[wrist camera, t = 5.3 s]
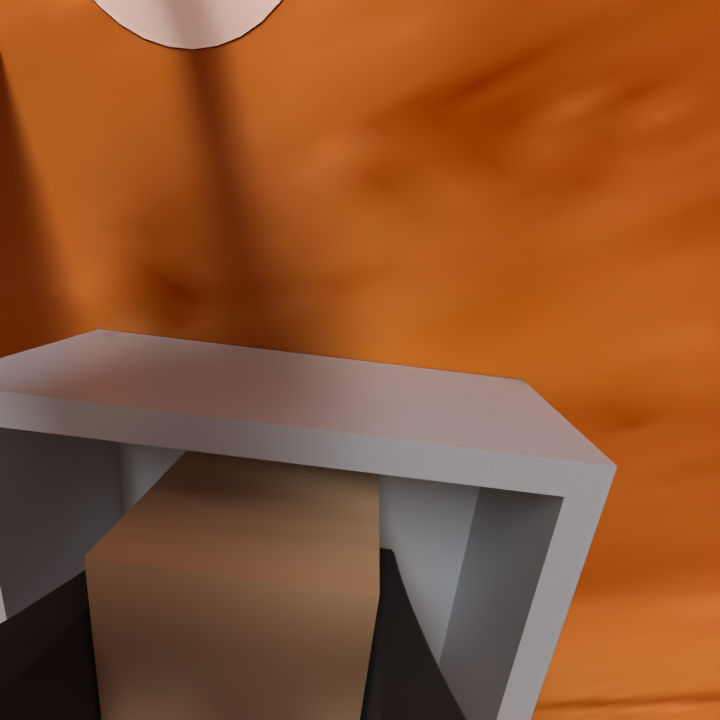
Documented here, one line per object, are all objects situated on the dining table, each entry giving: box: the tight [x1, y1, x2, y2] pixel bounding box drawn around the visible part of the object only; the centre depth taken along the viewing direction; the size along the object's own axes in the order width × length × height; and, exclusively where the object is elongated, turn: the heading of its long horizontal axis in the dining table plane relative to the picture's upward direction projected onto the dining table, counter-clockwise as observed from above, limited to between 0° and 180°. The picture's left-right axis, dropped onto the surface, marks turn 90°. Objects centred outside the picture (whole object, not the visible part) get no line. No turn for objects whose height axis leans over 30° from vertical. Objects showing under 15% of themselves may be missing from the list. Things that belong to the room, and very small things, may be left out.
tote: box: [0, 329, 617, 720], centre depth 12 cm, size 14×18×5 cm
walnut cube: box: [84, 450, 380, 720], centre depth 10 cm, size 5×5×5 cm
